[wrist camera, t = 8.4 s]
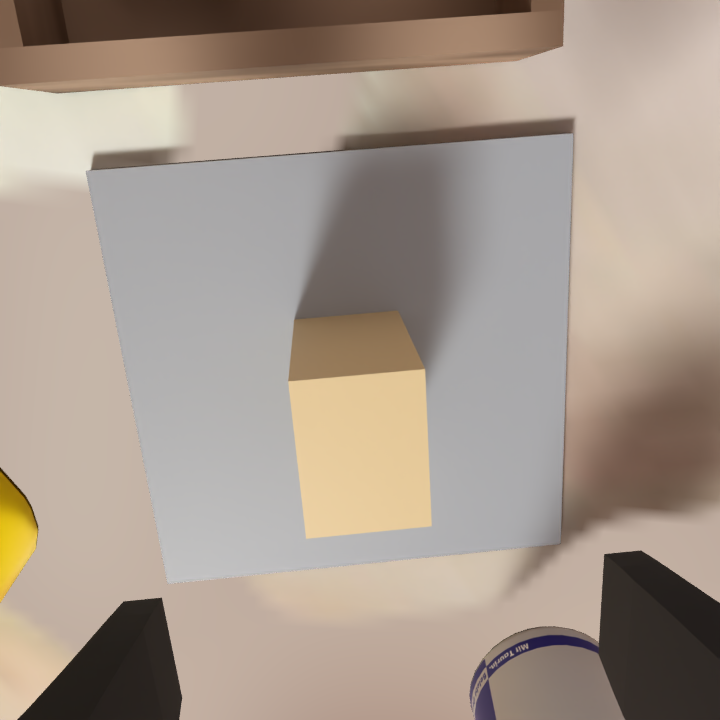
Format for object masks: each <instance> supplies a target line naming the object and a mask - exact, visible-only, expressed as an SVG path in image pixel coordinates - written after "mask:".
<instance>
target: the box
mask: <svg viewBox="0 0 720 720" xmlns="http://www.w3.org/2000/svg"><path fill="white" fill-rule="evenodd" d="M563 26H564V0H0V86H4V87H12V88H20V89H28V90H36V91H44V92H51V93H68V92H82V91H96V90H110V89H124V88H139V87H153V86H167V85H181V84H195V83H209V82H222V81H223V82H224V81H236V80H251V79H265V78H280V77H294V76H308V75H321V74H337V73H351V72H365V71H379V70H393V69H408V68H422V67H436V66H450V65H464V64H478V63H493V62H507V61H518V60H521V59H524V58H527V57H530V56H533V55H537V54H540V53H543V52H546V51H549V50H552V49H555V48H558V47H562V46H563Z"/></svg>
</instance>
